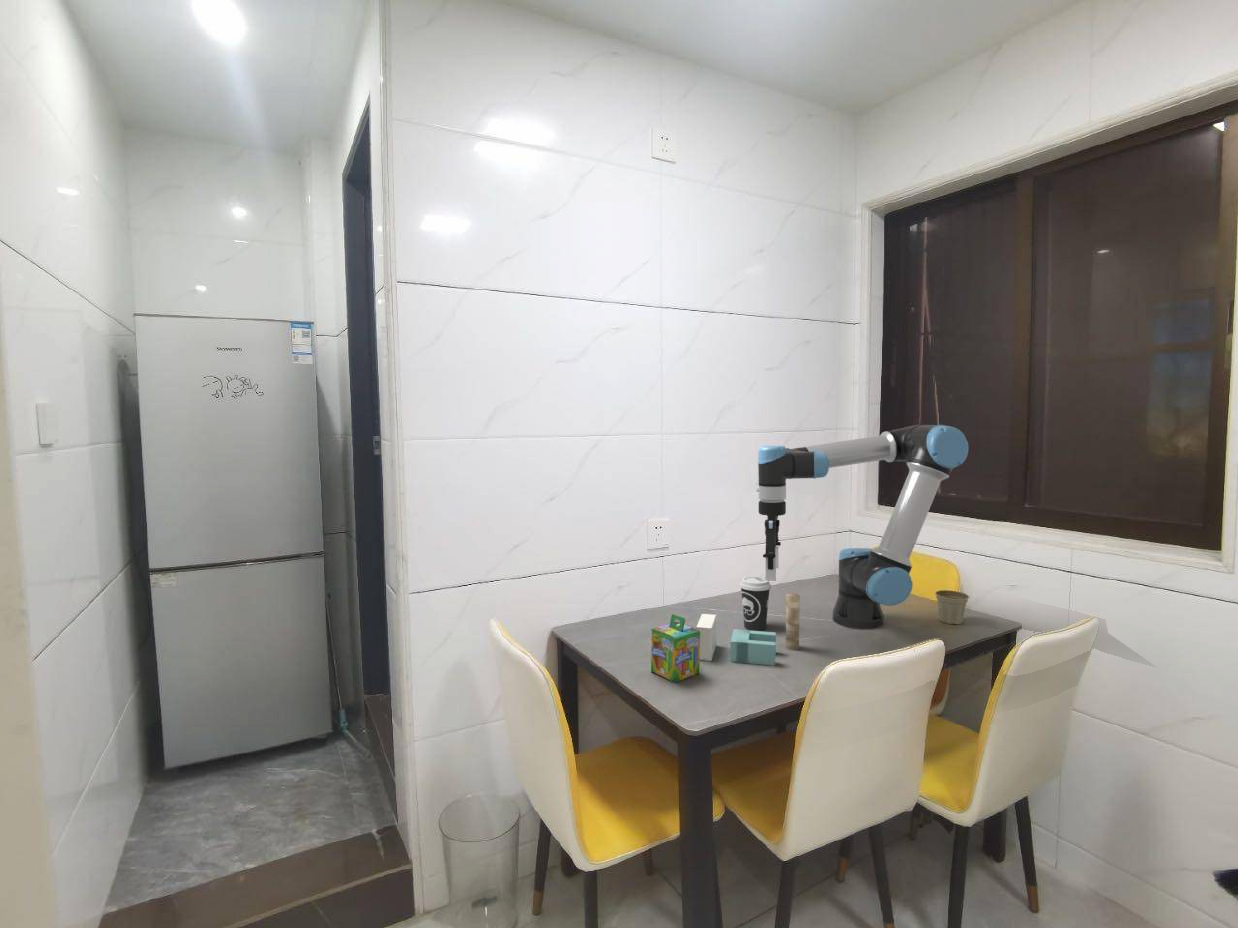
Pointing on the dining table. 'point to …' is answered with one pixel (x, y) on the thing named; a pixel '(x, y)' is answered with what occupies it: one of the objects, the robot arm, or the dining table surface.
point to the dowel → (792, 621)
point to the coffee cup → (755, 602)
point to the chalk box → (675, 650)
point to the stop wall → (707, 636)
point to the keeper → (753, 647)
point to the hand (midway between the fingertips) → (772, 574)
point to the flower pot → (951, 606)
